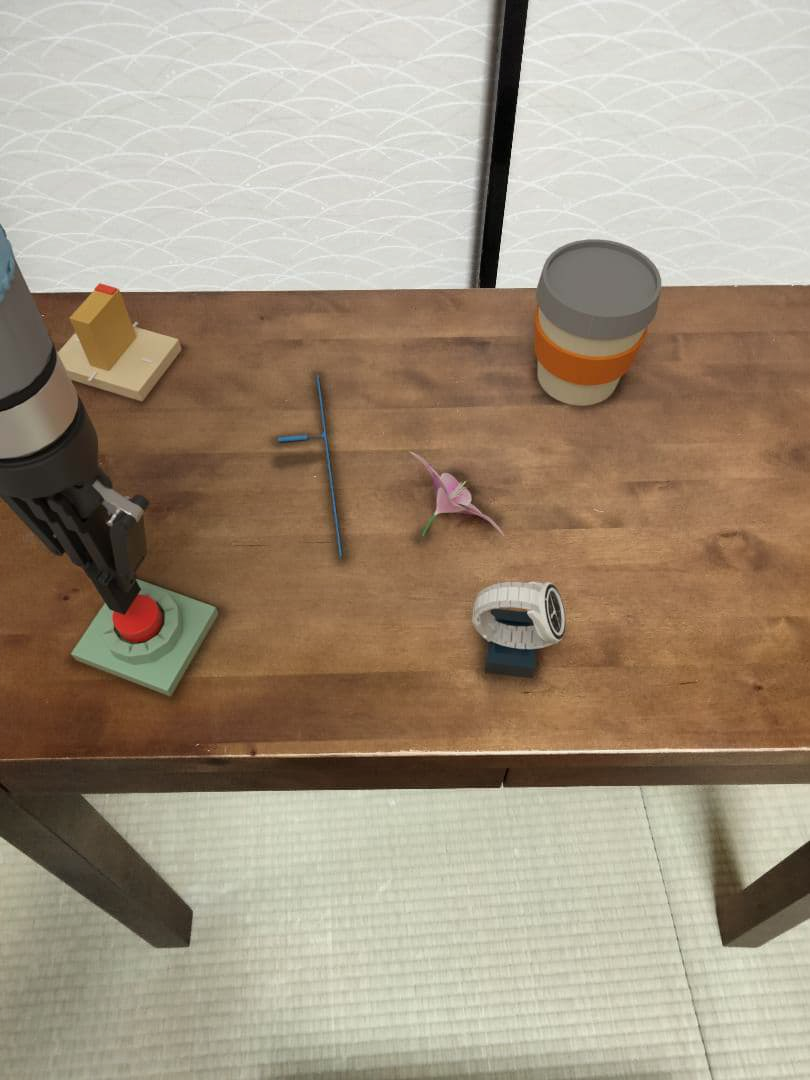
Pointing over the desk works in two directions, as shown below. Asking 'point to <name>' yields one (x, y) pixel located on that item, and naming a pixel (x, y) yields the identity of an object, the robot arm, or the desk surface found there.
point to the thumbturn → (103, 326)
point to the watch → (518, 625)
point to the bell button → (139, 620)
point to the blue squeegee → (304, 437)
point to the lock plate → (124, 364)
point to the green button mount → (149, 641)
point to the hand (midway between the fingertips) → (125, 599)
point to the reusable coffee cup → (592, 317)
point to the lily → (451, 496)
